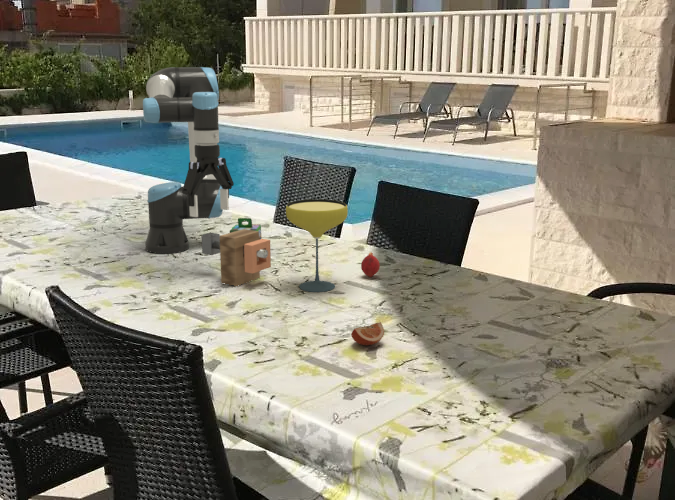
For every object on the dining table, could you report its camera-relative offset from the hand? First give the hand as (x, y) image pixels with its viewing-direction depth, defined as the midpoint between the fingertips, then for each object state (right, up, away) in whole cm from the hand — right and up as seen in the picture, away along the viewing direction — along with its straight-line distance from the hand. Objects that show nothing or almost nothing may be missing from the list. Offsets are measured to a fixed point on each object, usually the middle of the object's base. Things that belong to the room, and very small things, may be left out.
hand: (209, 213), depth 235 cm
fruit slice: (+47, -34, -52) cm, 78 cm away
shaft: (+8, -14, -2) cm, 16 cm away
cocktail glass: (+34, -23, -7) cm, 41 cm away
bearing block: (+10, -21, -1) cm, 23 cm away
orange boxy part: (+16, -13, -8) cm, 22 cm away
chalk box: (+9, -15, +22) cm, 28 cm away
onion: (+50, -20, +3) cm, 54 cm away
